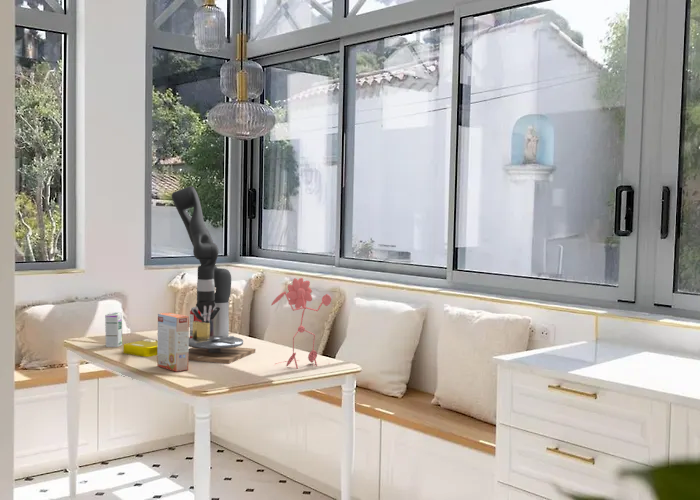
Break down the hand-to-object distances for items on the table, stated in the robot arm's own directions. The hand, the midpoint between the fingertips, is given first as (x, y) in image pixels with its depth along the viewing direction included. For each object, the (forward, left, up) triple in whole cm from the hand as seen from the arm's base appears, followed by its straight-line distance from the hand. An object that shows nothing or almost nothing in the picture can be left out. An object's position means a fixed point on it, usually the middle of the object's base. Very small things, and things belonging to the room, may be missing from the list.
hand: (205, 329), depth 332 cm
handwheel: (+6, +7, -4) cm, 10 cm away
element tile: (+11, -22, -10) cm, 26 cm away
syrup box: (+4, -43, -10) cm, 44 cm away
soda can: (-25, -17, -10) cm, 32 cm away
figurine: (+10, +46, -10) cm, 48 cm away
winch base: (+6, +7, -10) cm, 14 cm away
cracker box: (+35, +4, -10) cm, 37 cm away
